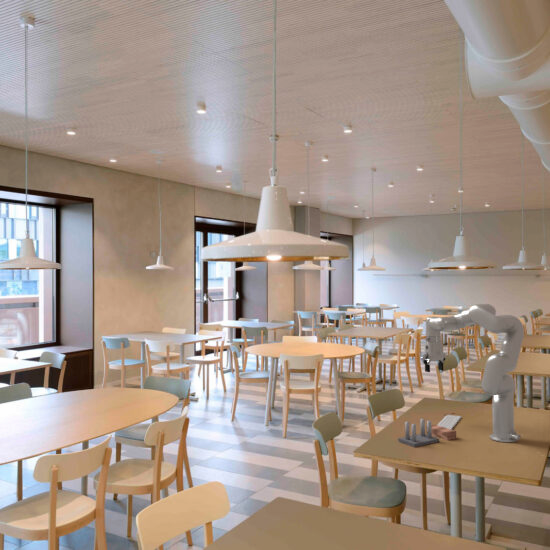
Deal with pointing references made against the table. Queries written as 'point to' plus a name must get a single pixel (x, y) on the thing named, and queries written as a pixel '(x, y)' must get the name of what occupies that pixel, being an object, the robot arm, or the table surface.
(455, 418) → the baseboard
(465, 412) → the table surface
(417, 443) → the peg stand
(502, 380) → the robot arm
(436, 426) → the pink elongated block
